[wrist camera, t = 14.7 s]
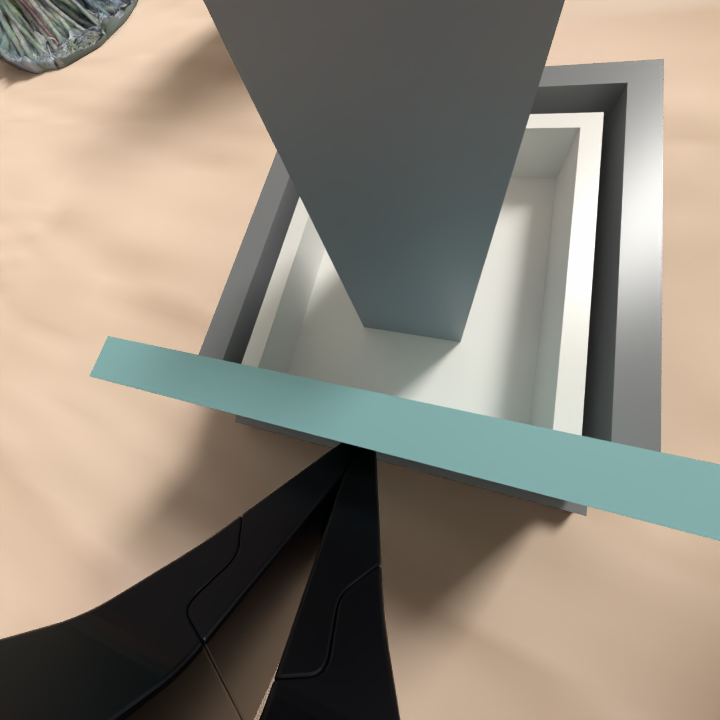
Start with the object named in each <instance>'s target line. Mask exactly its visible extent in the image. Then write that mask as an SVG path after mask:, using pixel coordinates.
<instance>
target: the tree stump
mask: <svg viewBox="0 0 720 720" xmlns="http://www.w3.org/2000/svg"><path fill="white" fill-rule="evenodd" d="M137 2H138V0H0V60H2V61H5V62H7V63H9V64H10V65H12V66H14V67H16V68H18V69H20V70H24V71H28V72H32V73H36V74H38V73H41V72H44V71H47V70H56V69H60V68H64V67H66V66H68V65H70V64H71V63H73V62H75V61H77V60H78V59H80V58H82V57H83V56H85V55H87V54H89V53H90V52H92V51H94V50H96V49H97V48H99V47H101V46H102V45H103V44H104V43H105V42H106V41H107V40H108V39H109V38H110V37H111V36H112V35H113V34H114V33H115V32H116V31H117V30H118V29H119V28H120V27H121V26H122V25H123V24H124V23H125V22H126V21H127V19H128V18H129V16H130V14H131V13H132V11H133V10H134V8H135V7H136V5H137ZM110 16H111V17H110Z"/></svg>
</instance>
